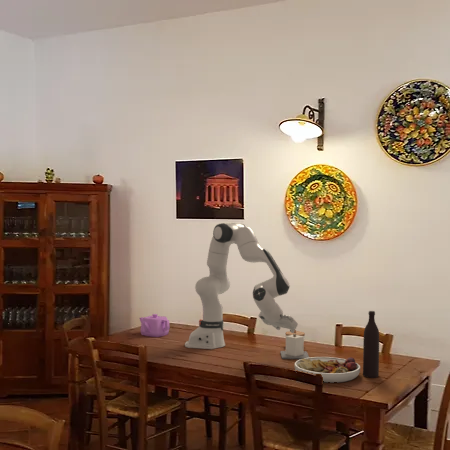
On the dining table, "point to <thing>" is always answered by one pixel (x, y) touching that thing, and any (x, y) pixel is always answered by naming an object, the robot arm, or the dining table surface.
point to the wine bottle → (371, 348)
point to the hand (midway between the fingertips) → (285, 330)
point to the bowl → (330, 368)
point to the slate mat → (285, 356)
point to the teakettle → (154, 326)
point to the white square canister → (294, 345)
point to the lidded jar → (295, 333)
